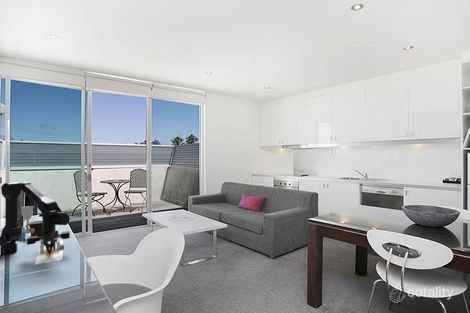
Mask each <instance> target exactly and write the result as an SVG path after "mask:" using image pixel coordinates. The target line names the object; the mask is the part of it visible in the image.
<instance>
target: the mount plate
mask: <svg viewBox="0 0 470 313" xmlns="http://www.w3.org/2000/svg"><path fill="white" fill-rule="evenodd" d="M55 244H56V247H55V249H54V251H53V254H51V255H47V249H46V247H45V246H44V253H40V247H39V249H38V252H37V255H36V256H37V257H36V260H35V263H34V266H35V265H41V264H46V263H51V262H52V263H53V262H57V261H62V260H63V259H64V258H63V256H64V249H60V250H57V243H55ZM60 244H64V239H60Z"/></svg>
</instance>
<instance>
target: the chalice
mask: <svg viewBox="0 0 470 313" xmlns="http://www.w3.org/2000/svg"><path fill="white" fill-rule="evenodd" d="M20 208H21V216H22V217H23V219H24V220H26V225H27V224H28V225H27V228H28V229H29V230H30V228H29V223H30V222H29V220H31V218H32V217H33V214H34V205H27V206H26V205H25V206H21V207H20ZM27 228H25V229H24V230H23V231H22V234H30V231H29V230H28V229H27Z"/></svg>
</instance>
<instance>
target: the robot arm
mask: <svg viewBox="0 0 470 313" xmlns="http://www.w3.org/2000/svg"><path fill="white" fill-rule="evenodd" d="M0 190H1V195H2V197H3V198H4V200H5V204H4V205H5V206H4V207H5V208H4V209H5V210H4V211H5V212H4V213H5V215H4V216H5V223H4V224H5V225H4V226H3V228H2V229H1V233H0V257H3V256H9V255H14V254H16V253H17V252H18V243H17V242H18V241H20V238H21V236H22V234H23V231H22V229H23V227H22V226H20V225H19V224H18V198H19V196H20V195H21V192H23V193H25V194H26V196H28V197H29V198H30V199H31V200H32V201H33V202H34V203H35V204H36V208H37V209H38V210H39V212H40V214H39V215H38V217H39V218H41V219H42V225H43V233H42V237H37V236H31V235H30V236H29V237H27V239H26V245H28V246H29V245H34V244H36V242H40V244H44V246H45V247H46V249H47V251H48V253H49V254H50V253H51V250H52V247H53V245H54V243H55V242H57V240H59V239H61V240H66V239H67V240H68V239H70V237H71V236H70V233H71V232H70V231H69V230H68V231H67V230H66V231H62V232H61V233H59V230H56V226H67V225H68V224H69V223H70V220H71V219H70V215H68V214H67V211H66V212H65V211H62V209H61V208H60V206H59V205H58V203H57V201H55V200H54V199H52V198H49V197H47V196H45V195H44V194H43V193H42V192H40V191H39V190H38V189H37V188H36V187H34V185H32V182H30V181H23V182H19V181H14V182H13V181H12V182H4V183H3V184H1V186H0ZM49 241H51V244H50V249H49V243H48V242H49Z"/></svg>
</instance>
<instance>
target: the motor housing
mask: <svg viewBox="0 0 470 313" xmlns="http://www.w3.org/2000/svg"><path fill="white" fill-rule="evenodd" d="M60 240H61V238H58V240H57V242H55V243H57V250H60V249H63V250H64V249H65V243H63V244H60ZM48 243H49V244H51V241H49V242H48ZM55 243H54V244H55ZM39 248H40V253H44V244H41V243H40V244H39Z"/></svg>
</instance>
